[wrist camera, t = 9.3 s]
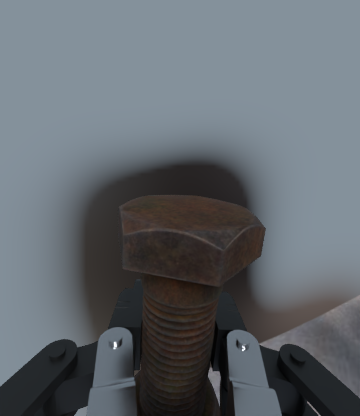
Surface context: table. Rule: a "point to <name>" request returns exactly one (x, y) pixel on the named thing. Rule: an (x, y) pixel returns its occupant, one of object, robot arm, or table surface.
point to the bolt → (182, 291)
